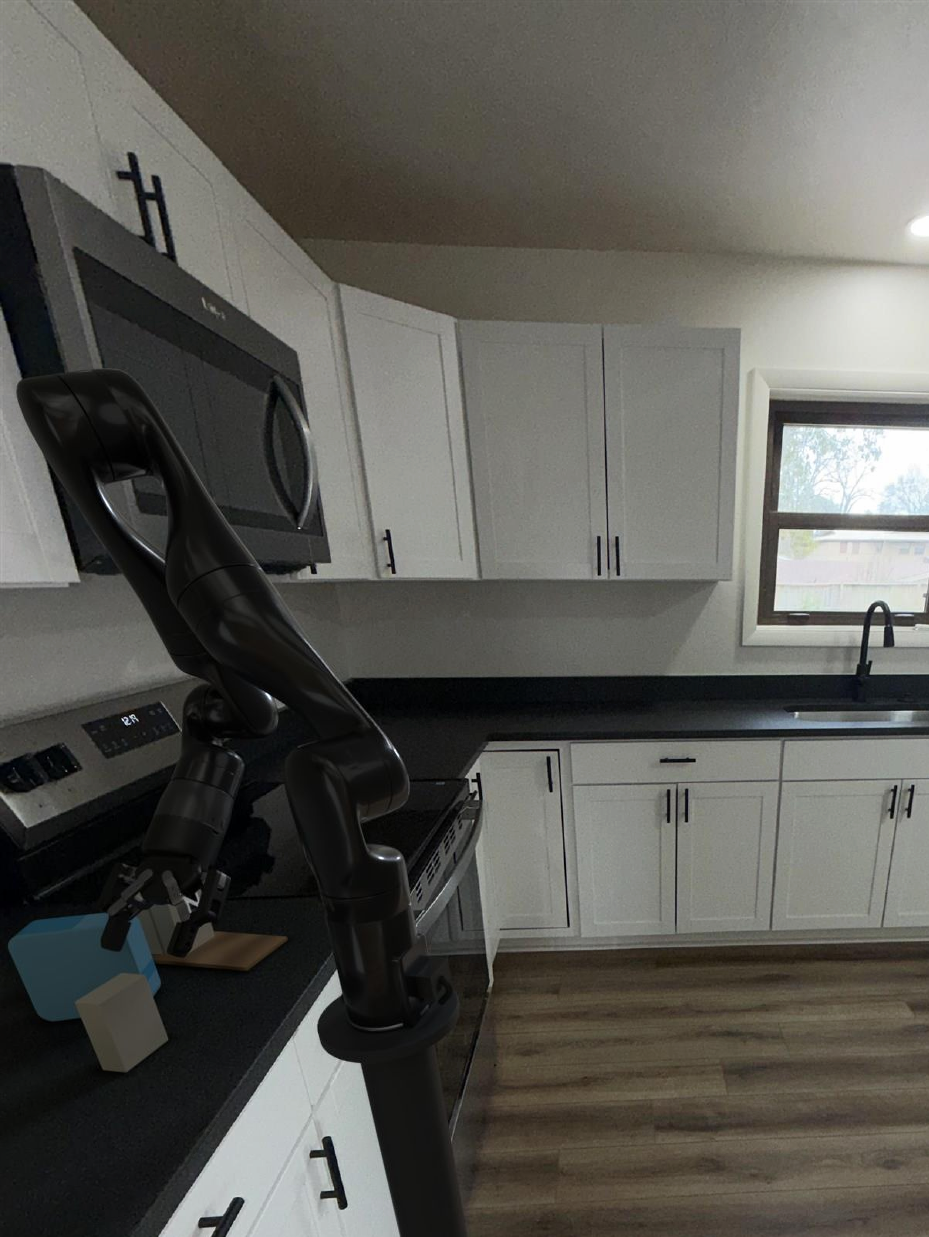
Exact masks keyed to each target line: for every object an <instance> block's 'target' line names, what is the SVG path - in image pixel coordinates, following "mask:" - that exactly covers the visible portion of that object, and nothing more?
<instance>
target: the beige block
mask: <svg viewBox="0 0 929 1237" xmlns="http://www.w3.org/2000/svg"><path fill="white" fill-rule="evenodd" d="M75 1004H76V1007H77V1009H78V1012H79V1014H80V1016H81V1018H80V1020H81V1021H82V1023H83V1026H84V1028H85V1030H86V1033H87V1035H88V1038H89V1040H90V1042H91V1045H92V1048H93V1050H94V1051H95V1052H94V1053H95V1055H96V1057H97V1059H98V1061H99V1064H100V1067H101V1069H102V1070H103V1071H109V1072H118V1073H128V1072H129V1071H130V1070H132V1069H133V1068H135V1066H137V1065H138V1064H140V1063H141V1062H142V1061H143V1060H144V1059H146V1058H147V1057H148V1056H150V1055H151V1054H153V1053H154V1052H156V1050H158V1049H159V1048H161V1046H163V1045H164V1044H165V1043H167V1042H168V1041H169V1037H168V1034H167V1031H166V1029H165V1025H164V1023H163V1021H162V1017H161V1015H160V1012H159V1010H158V1006H157V1004H156V1002H155V998H154V996H152V993H151V990H150V987H149V984H148V982H147V979H146V976H145V975H141V974H129V973H121V974H119V975H118V976H116V977H114V978H113V979H111V980H110V981H108V982H106V983H105V984H103V985H101V986H100V987H98V988H97V989H95V990H93V991H92V992H90V993H88V994H87V995H85V996H84V997H82V998H80V999H79V1000H77V1001H76V1002H75Z"/></svg>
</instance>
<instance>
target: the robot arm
mask: <svg viewBox="0 0 929 1237" xmlns="http://www.w3.org/2000/svg"><path fill="white" fill-rule="evenodd" d="M15 394H16V400H17V403H18V406H19V409H20V412H21V414H22V417H23V420H24V421H25V424H26V426H27V429H28V430H29V431H30V433H31V435H32V437H33V439H34V441H35V443H36V444H37V446H38V448H39V450H40V451H41V453H42V454H43V456H44V457H45V459H46V461H47V463H48V464H49V466H50V467H51V469H52V470H53V472H54V474H55V475H56V477H57V478H58V479H59V481H60V483H61V484H62V486H63V487H64V489H65V490H66V492H67V493H68V495H69V496H70V499H71V500H72V501H73V502H74V503H75V506H76V507H77V509H78V511H79V512H80V514H82V516H83V518H84V519H85V521H86V522H87V524H88V526H90V529H91V530H92V531H93V533H94V534H95V536H96V537H97V539H98V540H99V541H100V543H101V545H102V547H103V548H104V549H105V550H106V552H107V553H108V555H109V556H110V558H111V559H112V561H113V562H114V564H115V565H116V566H117V568H118V569H119V571H120V572H121V573H122V575H123V577H124V578H125V579H126V581H127V582H128V584H129V585H130V587H131V589H132V590H133V592H134V593H135V595H136V597H137V598H138V600H139V601H140V603H141V605H142V606H143V608H144V610H145V612H146V613H147V615H148V617H149V619H150V621H151V623H152V625H153V627H154V629H155V631H156V632H157V635H158V636H159V638H160V640H161V642H162V644H163V645H164V648H165V649H166V651H167V654H168V655H169V657H170V659H171V660H172V662H173V664H174V665H175V667H176V668H177V669H178V670H179V671H181V672H182V673H184V674H186V675H189V676H192V677H195V678H198V679H201V680H202V681H206V682H204V683H200V684H198V685H196V686H195V687H193V688H192V689H191V690H190V691H189V693H188V694H187V695H186V696H185V699H184V701H183V705H182V713H181V716H182V717H181V737H180V755H179V758H178V759H177V762H176V765H175V768H174V770H173V773H172V775H171V778H170V781H169V782H168V785H167V786H166V788H165V790H164V792H163V793H162V795H161V797H160V799H159V800H158V803H157V806H156V808H155V812H154V815H153V817H152V819H151V822H150V824H149V826H148V829H147V831H146V834H145V837H144V839H143V842H142V844H141V851H142V854H143V859H142V861H141V863H140V864H139V865H138V866H129V865H128V864H125V863H124V862H121V861H118V862H116V863H115V864H114V865H113V866H112V869H111V871H110V874H109V876H108V877H107V880H106V882H105V884H104V885H105V886H104V885H103V886H104V888H103V890H101V893H100V894H99V897H98V899H97V902H96V904H95V908H96V909H97V910H99V911H101V912H103V913H107V914H108V916H109V918H108V921H107V924H106V926H105V929H104V931H103V934H102V936H101V942H100V943H101V947H102V948H103V949H106V950H110V951H114V952H119V951H121V950H122V947H123V945H124V942H125V940H126V937H127V934H128V932H129V929H130V927H131V924H132V923H131V922H129V921H131V920H132V919H133V918H134V917H136V916H137V915H138V914H139V913H140V912H141V911H143V910H148V909H150V908H151V907H152V906H153V905H154V904H156V905H166V904H170V905H172V906H175V907H176V908H177V911H178V914H179V917H180V920H181V922H177V923H176V926H175V929H174V931H173V934H172V937H171V940H170V942H169V945H168V948H167V953H168V954H169V955H172V956H175V957H180V958H184V957H186V955H187V953H189V952H190V951H191V949H192V946H193V943H194V940H195V938H196V935H197V932H198V929H199V928H200V927H202V926H203V925H204V924H206V923H210V922H211V924H217V923H218V922H220V920H221V918H222V913H223V911H224V910H223V909H224V906H225V902H226V899H227V896H228V892H229V889H230V886H231V881H232V878H231V877H230V876H229V875H227V874H225V873H224V872H222V871H220V870H218V869H216V868H214V867H215V865H216V862H217V858H218V856H219V853H220V850H221V847H222V845H223V841H224V838H225V835H226V833H227V830H228V827H229V824H230V822H231V818H232V813H233V806H234V805H235V804H234V803H235V800H236V797H237V795H238V792H239V789H240V786H241V783H242V780H243V777H244V774H245V773H244V772H245V761H244V760H243V758H242V757H240V756H239V754H237V753H236V752H234V751H233V750H231V749H229V748H227V747H224V746H223V743H224V741H225V739H232V740H247V741H248V740H249V741H259V740H264V739H267V738H269V737H271V736H272V735H273V734H274V732H275V731H276V729H277V727H278V724H279V709H278V706H277V702H276V701H278V702H280V703H282V704H283V705H284V706H286V707H287V708H288V709H290V710H291V711H292V712H294V713H295V714H296V715H297V716H298V717H299V718H300V719H301V720H302V721H303V722H304V723H305V724H306V725H307V726H308V727H309V729H310V730H311V731H312V732H313V733H314V734H315V736H316V737H317V739H318V740H316V741H312V742H308V743H304V744H301V745H299V746H295V747H294V748H293V749H291V750H290V751H289V752H288V754H287V756H286V757H285V760H284V764H283V771H282V772H283V773H282V774H283V785H284V789H285V795H286V800H287V802H288V806H289V809H290V812H291V815H292V819H293V821H294V826H295V829H296V832H297V835H298V836H297V837H298V838H299V842H300V845H301V849H302V853H303V857H304V858H305V861H306V863H307V865H308V867H309V870H310V871H311V872H312V874H313V877H314V878H315V881H316V884H317V889H318V892H319V898H320V901H321V906H322V910H323V913H324V919H325V923H326V928H327V931H328V936H329V942H330V945H331V950H332V955H333V959H334V964H335V967H336V972H337V976H338V982H339V985H340V989H341V994H340V1000H341V1005H342V1006H343V1004H344V1002H345V1007H346V1011H347V1020H348V1023H349V1025H350V1026H351V1027H352V1028H354V1029H355V1030H357V1031H360V1032H364V1033H386V1032H392V1031H396V1030H399V1029H403V1028H410V1029H412V1028H414V1027H415V1026H416V1025H417V1023H418V1022H419V1021H420V1020H421V1018H422V1017H423V1016H424V1015H425V1014H426V1013H427V1011H428V1010H429V1008H430V1007H431V1006H432V1005H433V1003H434V1002H435V1001H436V998H435V997H436V996H437V994H438V993H439V992H440V991H441V989H442V988H443V987H445V989H446V992H445V994H444V995H443V996H442V997H441V998H440V999H439V1001H438V1003H439V1004H440V1005H444V1004H445V1003H446V1001H448V1000H449V998H450V997H451V996H452V994H453V989H454V986H453V985H452V983H451V982H450V980H451V977H452V976H451V970H450V969H451V968H450V964H449V963H450V962H449V957H448V956H447V957H445V956H434V955H433V956H432V955H430V956H429V951H428V944H427V938H426V935H425V933H423V932H418V930H417V924H416V918H415V913H414V908H413V907H414V906H413V901H412V895H411V894H412V893H411V889H410V883H409V877H408V872H407V871H408V870H407V864H406V859H405V857H404V855H403V854H402V852H401V851H400V850H399V849H397V848H395V847H392V846H389V845H384V844H378V843H377V844H375V843H366V840H365V837H364V834H363V831H362V830H363V829H362V826H361V825H362V824H364V823H367V822H370V821H373V820H375V819H377V818H381V817H383V816H386V815H388V814H391V813H393V812H394V811H397V810H398V809H400V808H402V807H403V806H404V805H405V804H406V802H407V801H408V799H409V795H410V786H411V784H410V778H409V773H408V770H407V767H406V765H405V763H404V761H403V759H402V757H401V755H400V753H399V752H398V750H397V749H396V746H394V744H393V743H392V741H391V740H390V739H389V737H388V736H387V735H386V734H385V732H384V731H383V730H382V729H381V727H380V726H379V725H378V724H377V723H376V722H375V720H374V719H373V718H372V717H371V716H370V714H369V713H368V712H367V711H366V710H365V708H364V707H363V706H362V705H361V704H360V703H359V701H358V700H357V698H355V697H354V696H353V694H352V693H351V692H350V691H349V689H348V688H347V687H346V685H345V684H343V682H342V680H340V678H339V677H338V676H337V675H336V673H335V672H334V671H333V669H332V668H331V667H330V665H329V664H328V662H327V661H326V660H325V658H324V656H322V654H321V653H320V651H319V650H318V648H317V647H316V646H315V645H314V643H313V642H312V641H311V639H310V637H309V636H308V635H307V633H306V632H305V631H304V629H303V628H302V627H301V625H300V624H299V622H298V620H297V619H296V618H295V616H294V615H293V612H292V611H291V610H290V608H289V606H288V605H287V603H286V602H285V599H283V597H282V596H281V594H280V593H279V591H278V590H277V588H276V587H275V585H274V584H273V583H272V582H271V580H270V578H269V577H268V575H267V574H266V572H265V571H264V570H263V568H262V567H261V566H260V564H259V563H258V562H257V560H256V559H255V558H254V556H253V555H252V553H251V552H250V551H249V550H248V548H247V547H246V545H245V544H244V542H242V540H241V539H240V537H239V535H238V534H237V533H236V531H235V530H234V528H232V526H231V525H230V523H229V522H228V520H227V518H225V516H224V515H223V513H222V512H221V510H220V508H219V507H218V505H217V504H216V502H215V501H214V499H213V498H212V496H211V494H210V493H209V492H208V490H207V488H206V487H205V485H204V483H203V482H202V480H201V479H200V477H199V475H198V474H197V472H196V471H195V468H194V467H193V465H192V464H191V462H190V460H189V459H188V456H187V455H186V454H185V452H184V450H183V448H182V447H181V445H180V443H179V442H178V440H177V438H176V436H175V434H174V433H173V432H172V430H171V428H170V426H169V425H168V423H167V422H166V420H165V419H164V417H163V415H162V414H161V412H160V410H159V409H158V407H157V406H156V404H155V403H154V401H153V400H152V398H151V397H150V395H149V394H148V393H147V392H146V391H145V388H143V386H141V384H140V383H139V382H138V381H137V380H136V379H135V378H134V377H132V376H131V375H130V374H129V373H128V372H126V371H124V370H122V369H118V368H92V369H84V370H77V371H67V372H60V373H55V374H54V373H53V374H51V373H50V374H46V375H39V376H33V377H26V378H22V379H20V380H19V381H18V382H17V384H16V392H15ZM144 477H151V478H154V479H155V480H156V482H158V484H159V485H160V487H161V488H162V489H163V492H164V496H165V502H166V511H167V530H166V531H167V532H166V541H165V552H164V551H163V550H161V549H160V548H158V547H157V546H156V545H155V544H154V543H153V542H151V541H150V540H148V538H146V537H145V536H144V535H143V534H142V533H140V532H139V531H138V530H137V529H136V528H135V527H134V526H133V525H132V524H131V523H130V522H129V521H128V520H127V519H126V517H124V515H123V514H122V513H121V512H120V510H119V509H118V508H117V507H116V505H115V504H114V502H113V500H112V499H111V498H110V495H109V494H108V493H107V491H106V489H105V486H106V485H110V484H114V483H119V482H124V481H130V480H134V479H140V478H144ZM201 888H202V889H201ZM199 889H201V892H202V893H201V896H200V898H199V895H198V892H197V891H198V890H199ZM139 892H140V895H141V897H142V898H141V897H138V896H136V895H137V894H138V893H139ZM114 893H115V894H116V898H115V900H114V902H113V903H111V899H112V897H113V895H114ZM129 905H132V906H131V907H129V908H128V909H127V910H126V909H125V908H127V907H128V906H129Z"/></svg>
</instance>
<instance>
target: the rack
mask: <svg viewBox="0 0 929 1237" xmlns="http://www.w3.org/2000/svg"><path fill="white" fill-rule="evenodd" d="M104 886H105V884H104V885H103V886H101V891H103V888H104ZM197 892H198V895H199V898H200V896H201V893H202V889H201V888H200V889H199V890H198V891H197ZM136 896H138V897H141V895H140V892H139V893H138V894H137V895H136ZM115 898H116V894H115V893H114V895H113V897H112V899H111V903H113V902H114V900H115ZM141 898H142V897H141ZM131 906H132V905H129V906H128V907H127V908H125V909H126V910H127V909H128V908H129V907H131ZM136 917H137V918H138V919H139V921H140V924H141V927H142V929H143V932H144V935H145V938H146V941H147V944H148V947H149V949H150V952H151V955H152V958H153V961H154V964H159V965H171V966H182V967H183V966H184V967H195V968H208V969H218V970H230V971H231V970H233V971H242V972H243V971H245V972H248V971H249V970H250V969H252V968H253V967H254V966H256V964H258V963H260V962H261V961H262V960H263V959H265V958H266V957H267V956H269V955H270V954H271V953H273V952H274V951H276V949H278V948H279V947H280V946H282V945H283V944H285V943H286V942H287V941H288V940H289V939H288V936H284V935H271V934H270V935H269V934H257V933H242V932H231V931H216V930H214V928H213V925H212V923H211V922H210V923H206V924H204V925H203V926H202V927H200V928H199V929H198V932H197V935H196V938H195V940H194V943H193V946H192V949H191V951H190V952H189V953H187V955H186V957H184V958H180V957H175V956H172V955H169V954H168V953H167V948H168V945H169V942H170V940H171V937H172V934H173V931H174V929H175V926H176V923H177V922H181V920H180V917H179V914H178V911H177V908H176V907H175V906H172V905H170V904H166V905H156V904H154V905H153V906H152V907H151V908H150V909H148V910H143V911H141V912H140V913H139V914H138V915H137V916H136Z"/></svg>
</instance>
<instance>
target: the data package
mask: <svg viewBox="0 0 929 1237" xmlns="http://www.w3.org/2000/svg"><path fill="white" fill-rule="evenodd" d="M108 918H109V916H108V914H107V913H106V912H100V913H90V914H81V915H72V916H63V917H62V916H61V917H52V918H43V919H42V918H41V919H36V920H33V921H31V922H29V923H28V924H27V925H25V927H23V928H22V929H21V930H20V931H19V932H17V933H16V934H15V935H14V936H13V937H12V938H11V939H10V940H9V941H8V944H7V949H8V952H9V954H10V956H11V959H12V961H13V963H14V965H15V967H16V969H17V972H18V974H19V976H20V978H21V981H22V983H23V985H24V987H25V990H26V992H27V994H28V996H29V998H30V1001H31V1003H32V1006H33V1007H34V1010H35V1012H36V1014H37V1015H38V1016H39V1017H40V1018H41V1019H43V1020H45V1021H48V1022H61V1021H69V1020H70V1021H71V1020H76V1019H81V1016H80V1014H79V1012H78V1009H77V1007H76V1004H75V1002H76V1001H77V1000H79V999H80V998H82V997H84V996H85V995H87V994H88V993H90V992H92V991H93V990H95V989H97V988H98V987H100V986H101V985H103V984H105V983H106V982H108V981H110V980H111V979H113V978H114V977H116V976H118V975H119V974H121V973H129V974H141V975H145V976H146V979H147V982H148V984H149V987H150V990H151V993H152V996H153V997H154V996H155V995H156V994H157V992H158V991H159V989H160V988H161V984H162V982H161V981H162V980H161V978H160V975H159V973H158V970H157V967H156V966H157V965H156V963H154V961H153V958H152V955H151V952H150V949H149V947H148V944H147V941H146V938H145V935H144V932H143V929H142V927H141V924H140V921H139V919H138V918H137V917H134V918H133V919H132V920H131V921H129V922H131V923H132V924H131V927H130V929H129V932H128V934H127V937H126V940H125V942H124V945H123V947H122V950H121V951H119V952H114V951H110V950H106V949H103V948H102V947H101V943H100V942H101V936H102V934H103V931H104V929H105V926H106V924H107V921H108Z"/></svg>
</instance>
